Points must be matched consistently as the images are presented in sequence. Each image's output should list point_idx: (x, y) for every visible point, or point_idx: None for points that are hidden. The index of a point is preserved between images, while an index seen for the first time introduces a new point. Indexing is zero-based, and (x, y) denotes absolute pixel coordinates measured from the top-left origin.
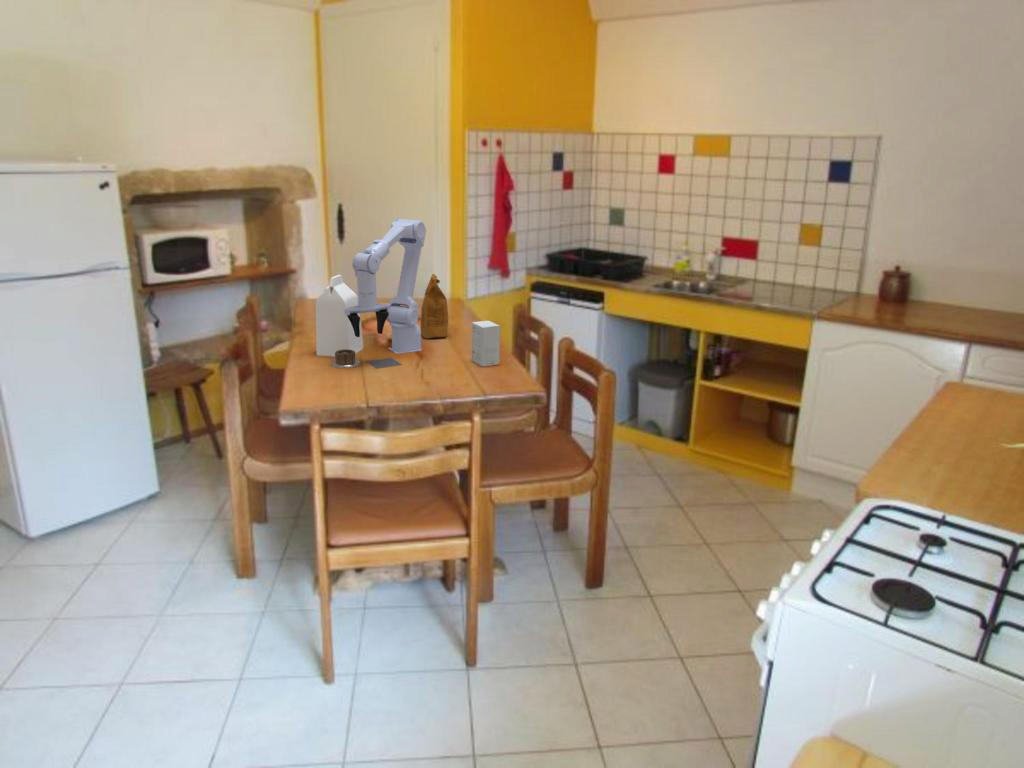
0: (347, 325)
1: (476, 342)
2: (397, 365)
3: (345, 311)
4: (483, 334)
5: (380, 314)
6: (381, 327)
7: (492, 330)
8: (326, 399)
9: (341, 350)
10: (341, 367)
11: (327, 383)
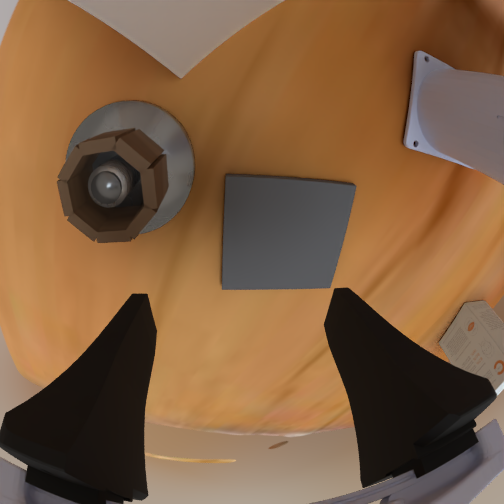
0: (125, 21)
1: (476, 356)
2: (310, 288)
3: (10, 491)
4: None
5: (376, 461)
6: (342, 371)
7: None
8: None
9: (93, 152)
10: None
11: (56, 317)
